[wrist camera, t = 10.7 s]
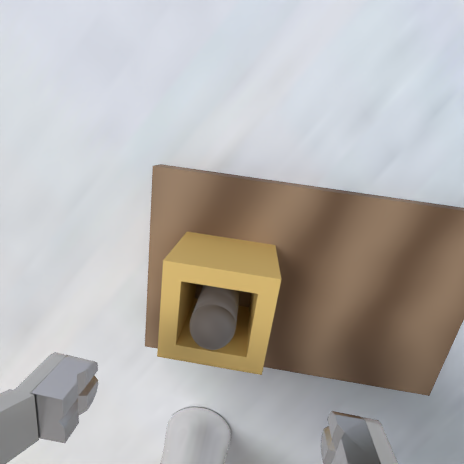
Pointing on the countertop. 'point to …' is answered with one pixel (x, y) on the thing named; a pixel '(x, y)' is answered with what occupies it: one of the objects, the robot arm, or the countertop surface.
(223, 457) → the beer glass
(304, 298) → the base plate
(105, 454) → the countertop surface
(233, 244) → the sleeve
